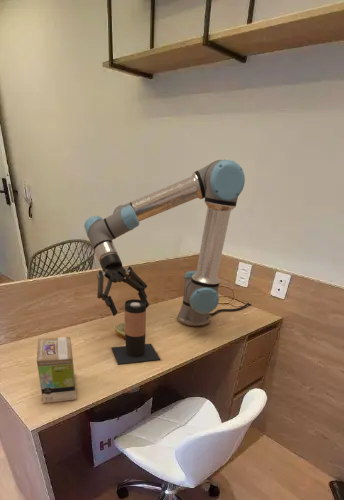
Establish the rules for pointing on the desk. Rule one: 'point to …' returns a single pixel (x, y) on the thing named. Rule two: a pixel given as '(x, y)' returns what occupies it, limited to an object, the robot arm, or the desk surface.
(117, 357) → the desk mat
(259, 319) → the desk surface
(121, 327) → the decorated donut
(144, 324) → the travel mug
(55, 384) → the tea box
